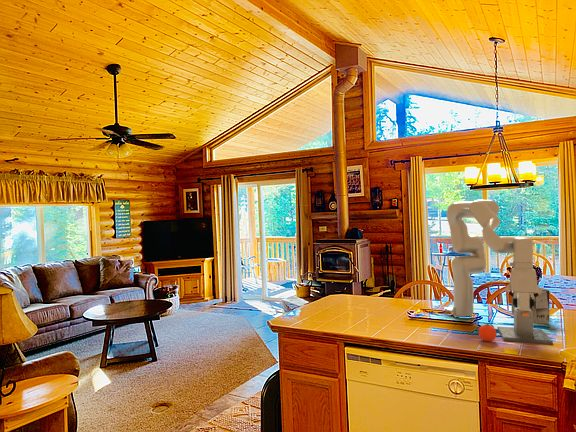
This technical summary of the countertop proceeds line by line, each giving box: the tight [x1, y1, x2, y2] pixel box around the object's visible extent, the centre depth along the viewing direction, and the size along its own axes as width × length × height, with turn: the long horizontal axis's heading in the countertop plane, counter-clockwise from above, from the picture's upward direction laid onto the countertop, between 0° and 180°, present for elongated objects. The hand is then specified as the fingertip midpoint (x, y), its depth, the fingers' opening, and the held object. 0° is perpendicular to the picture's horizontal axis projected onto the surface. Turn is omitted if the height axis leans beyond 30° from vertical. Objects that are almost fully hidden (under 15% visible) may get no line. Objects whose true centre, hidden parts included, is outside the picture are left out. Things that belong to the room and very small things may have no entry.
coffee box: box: [529, 287, 550, 324], centre depth 212 cm, size 9×6×16 cm
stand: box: [497, 307, 554, 345], centre depth 186 cm, size 18×18×12 cm
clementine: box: [478, 323, 498, 343], centre depth 181 cm, size 8×7×7 cm
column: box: [517, 292, 530, 312], centre depth 186 cm, size 4×4×19 cm
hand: (523, 307), depth 186 cm, fingers open, 5 cm apart
